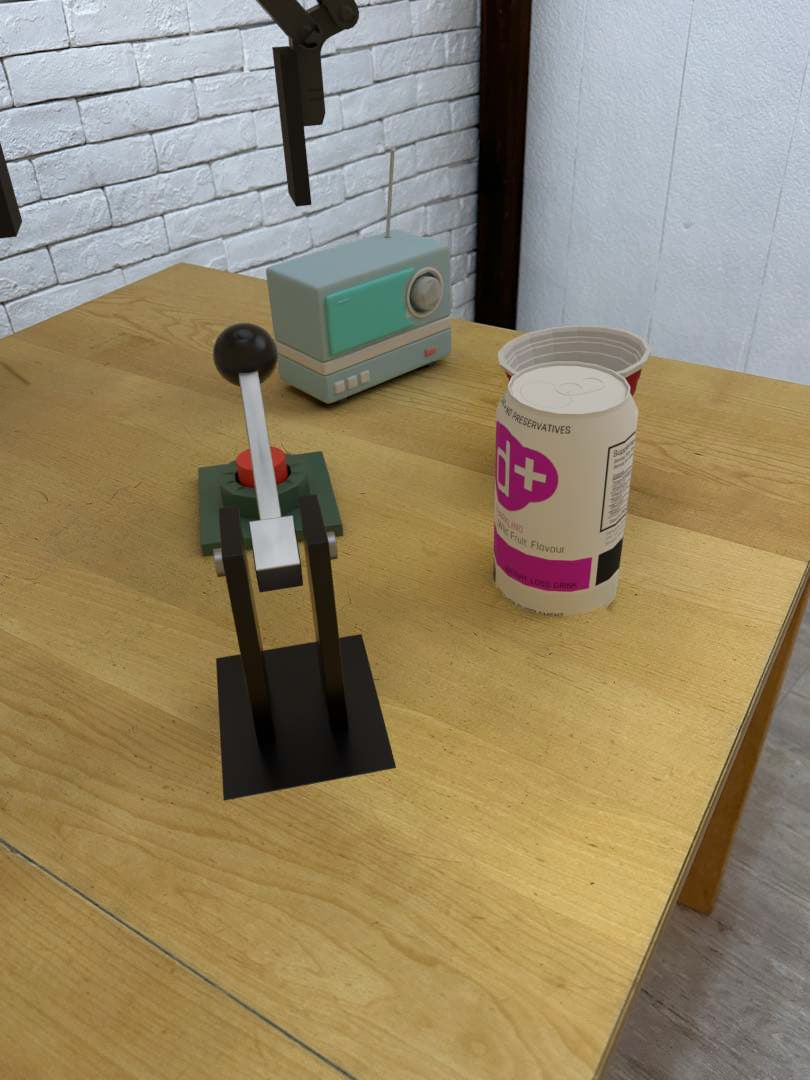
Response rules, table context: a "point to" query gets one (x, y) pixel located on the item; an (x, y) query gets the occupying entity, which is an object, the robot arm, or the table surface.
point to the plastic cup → (578, 350)
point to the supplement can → (562, 486)
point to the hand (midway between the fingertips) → (159, 215)
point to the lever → (260, 453)
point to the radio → (361, 311)
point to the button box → (226, 491)
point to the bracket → (294, 681)
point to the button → (247, 473)
